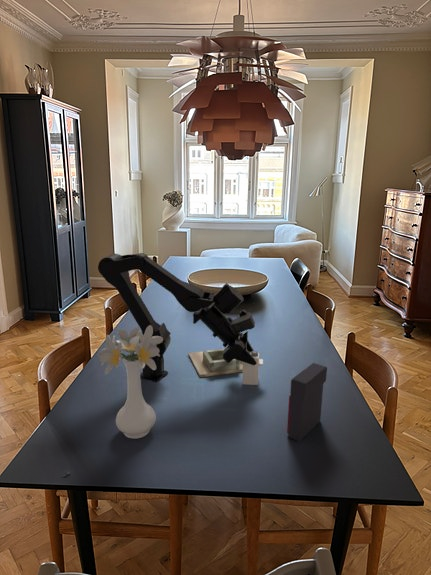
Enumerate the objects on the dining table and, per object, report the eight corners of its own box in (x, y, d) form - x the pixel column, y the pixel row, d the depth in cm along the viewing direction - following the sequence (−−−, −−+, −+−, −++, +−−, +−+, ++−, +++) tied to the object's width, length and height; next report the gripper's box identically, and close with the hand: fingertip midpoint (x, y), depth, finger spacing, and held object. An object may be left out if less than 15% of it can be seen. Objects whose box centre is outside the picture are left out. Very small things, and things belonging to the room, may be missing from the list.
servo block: (238, 383, 120) (238, 354, 118) (239, 377, 124) (239, 348, 122) (262, 385, 119) (263, 355, 117) (262, 378, 123) (263, 349, 121)
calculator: (306, 415, 105) (310, 361, 101) (322, 421, 102) (327, 366, 98) (284, 436, 97) (288, 377, 93) (301, 443, 94) (305, 384, 90)
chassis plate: (199, 377, 124) (199, 365, 123) (188, 355, 139) (188, 344, 138) (250, 370, 128) (250, 358, 127) (233, 350, 143) (234, 339, 142)
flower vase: (169, 409, 107) (167, 318, 101) (154, 456, 90) (150, 349, 83) (120, 407, 108) (114, 316, 101) (95, 453, 90) (86, 347, 84)
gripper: (235, 316, 107) (277, 357, 109) (240, 295, 125) (275, 331, 127) (205, 342, 110) (246, 383, 112) (214, 319, 128) (249, 353, 130)
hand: (255, 360), depth 120 cm, fingers closed on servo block, 4 cm apart
